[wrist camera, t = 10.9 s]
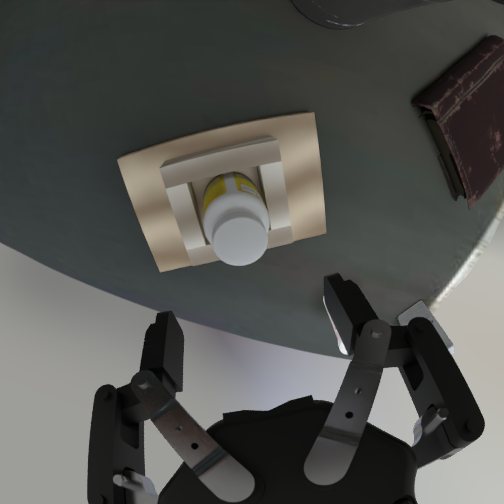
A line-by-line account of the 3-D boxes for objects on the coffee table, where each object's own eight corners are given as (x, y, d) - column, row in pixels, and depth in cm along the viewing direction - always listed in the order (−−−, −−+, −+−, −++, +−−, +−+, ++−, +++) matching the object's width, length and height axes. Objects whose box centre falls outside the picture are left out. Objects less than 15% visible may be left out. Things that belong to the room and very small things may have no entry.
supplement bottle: (206, 222, 29) (206, 277, 21) (201, 172, 26) (196, 210, 18) (257, 217, 30) (277, 269, 21) (256, 168, 27) (278, 203, 18)
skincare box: (420, 298, 44) (455, 343, 34) (423, 310, 46) (455, 353, 36) (395, 317, 45) (426, 366, 35) (399, 328, 47) (428, 373, 37)
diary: (405, 100, 26) (431, 103, 22) (482, 34, 19) (504, 35, 15) (452, 201, 34) (473, 215, 30) (516, 124, 28) (535, 131, 23)
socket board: (121, 156, 25) (107, 167, 21) (309, 111, 26) (325, 114, 22) (162, 265, 33) (156, 288, 29) (321, 227, 33) (335, 246, 29)
